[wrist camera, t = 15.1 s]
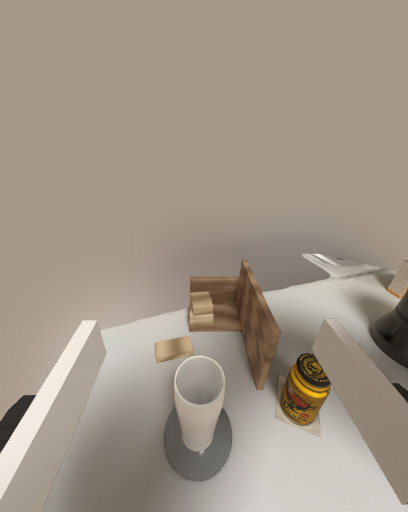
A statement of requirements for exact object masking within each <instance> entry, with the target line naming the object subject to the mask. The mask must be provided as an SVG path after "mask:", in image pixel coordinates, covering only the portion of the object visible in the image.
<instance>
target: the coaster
mask: <svg viewBox="0 0 408 512" xmlns="http://www.w3.org/2000/svg"><path fill="white" fill-rule="evenodd" d="M164 441H165V449H166V454H167V456H168V459H169V461H170V463H171V465H172V466H173V468H174V469H175V470H176V471H177V472H178V473H179V474H180V475H181V476H183V477H184V478H186V479H189V480H193V481H203V480H207V479H209V478H211V477H213V476H214V475H216V474H217V473H218V472H219V471H220V470H221V469H222V468H223V466H224V465H225V463H226V461H227V459H228V456H229V453H230V450H231V445H232V430H231V425H230V421H229V418H228V416H227V414H226V412H225V411H224V409H223V408H222V409H221V412H220V416H219V419H218V422H217V425H216V428H215V431H214V437H213V440H212V442H211V444H210V445H209V447H208V448H206V449H205V450H203V451H201V452H194V451H192V450H190V449H188V448H187V447H186V445H185V444H184V442H183V440H182V436H181V428H180V423H179V419H178V415H177V410H176V407H175V408H174V409H173V410H172V412H171V414H170V416H169V418H168V420H167V423H166V427H165V434H164Z"/></svg>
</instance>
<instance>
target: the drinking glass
mask: <svg viewBox="0 0 408 512" xmlns="http://www.w3.org/2000/svg"><path fill="white" fill-rule="evenodd" d="M225 382H226V381H225V375H224V372H223V369H222V368H221V366H220V365H219V364H218V363H217V362H216V361H215V360H213V359H212V358H210V357H207V356H201V355H198V356H193V357H190V358H188V359H186V360H185V361H183V362H182V363H181V364H180V366H179V367H178V369H177V371H176V373H175V377H174V399H175V406H176V410H177V415H178V419H179V423H180V428H181V436H182V440H183V442H184V444H185V445H186V447H187V448H188V449H190V450H192V451H194V452H201V451H203V450H205V449H206V448H208V447H209V445H210V444H211V442H212V440H213V437H214V431H215V428H216V425H217V422H218V419H219V416H220V412H221V409H222V406H223V401H224V395H225Z"/></svg>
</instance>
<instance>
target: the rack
mask: <svg viewBox="0 0 408 512" xmlns="http://www.w3.org/2000/svg"><path fill="white" fill-rule="evenodd" d="M207 291H208V292H209V295H210V298H211V300H212V304H213V325H190V332H195V331H242V335H243V339H244V343H245V346H246V350H247V354H248V358H249V361H250V365H251V369H252V373H253V377H254V380H255V384H256V388H257V390H263V388H264V385H265V381H266V378H267V375H268V372H269V369H270V366H271V362H272V359H273V356H274V353H275V350H276V347H277V343H278V340H279V337H280V334H281V332H280V330H279V328H278V326H277V324H276V322H275V320H274V317H273V315H272V313H271V311H270V309H269V307H268V305H267V303H266V300H265V298H264V296H263V294H262V292H261V290H260V288H259V286H258V284H257V281H256V279H255V277H254V275H253V273H252V271H251V269H250V267H249V265H248V262H247V260H242V263H241V270H240V277H239V278H238V277H190V293H196V292H207Z"/></svg>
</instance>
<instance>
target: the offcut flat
mask: <svg viewBox="0 0 408 512" xmlns="http://www.w3.org/2000/svg"><path fill="white" fill-rule="evenodd" d="M155 347H156V358H157V363H159V362H164V361H168V360H172V359H176V358H181V357H185V356H189V355H193V348H192V344H191V341H190V337H189V336H186V337H181V338H176V339H171V340H166V341H162V342H157V343H155Z"/></svg>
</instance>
